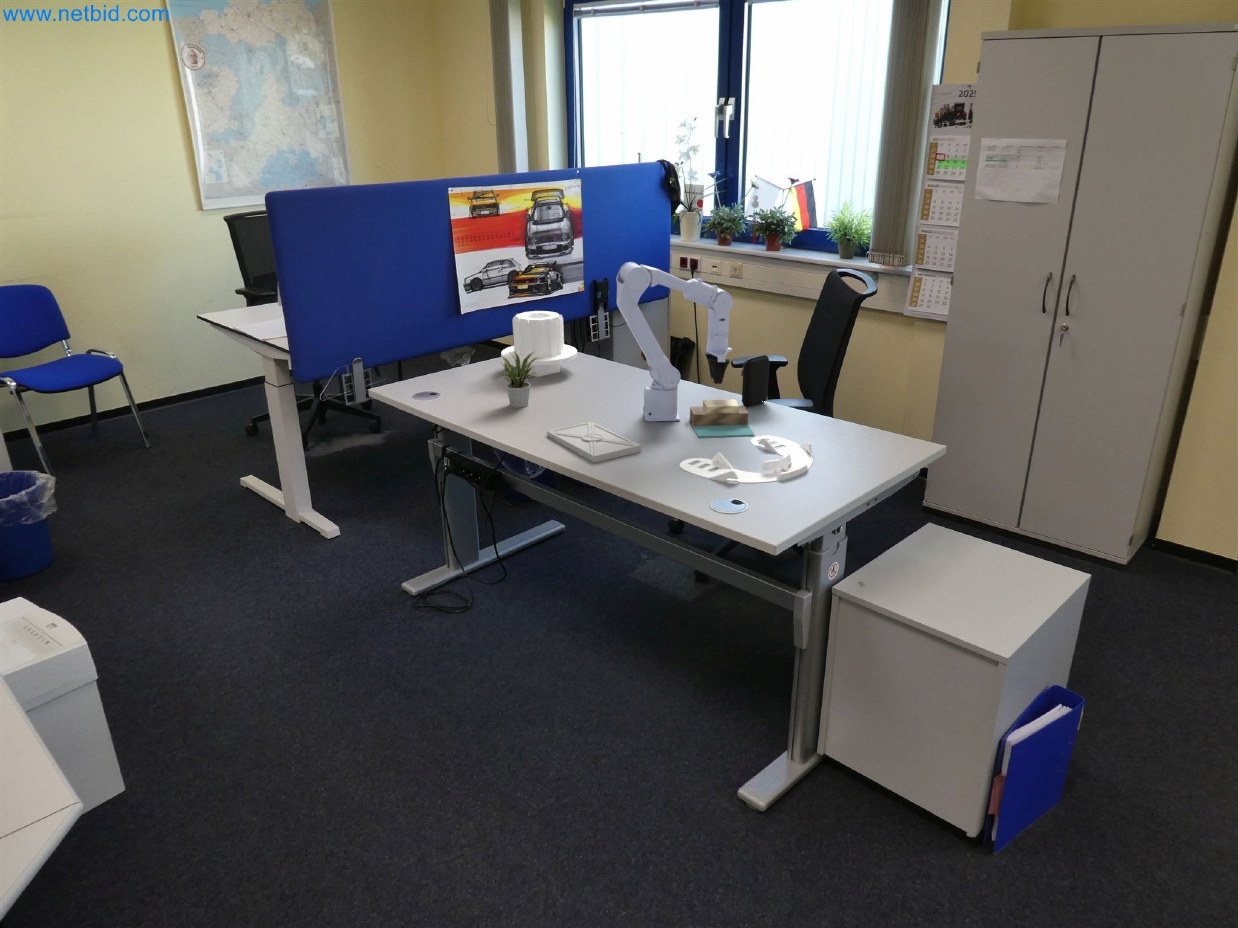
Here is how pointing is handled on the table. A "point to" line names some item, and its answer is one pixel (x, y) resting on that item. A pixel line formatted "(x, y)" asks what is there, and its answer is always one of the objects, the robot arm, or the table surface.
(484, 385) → the table surface
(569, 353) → the flanged gear
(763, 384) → the carrying case or bag
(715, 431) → the teal mat
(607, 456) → the envelope
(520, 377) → the house plant
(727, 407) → the cream rectangular block
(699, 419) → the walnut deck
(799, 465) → the cable organizer
